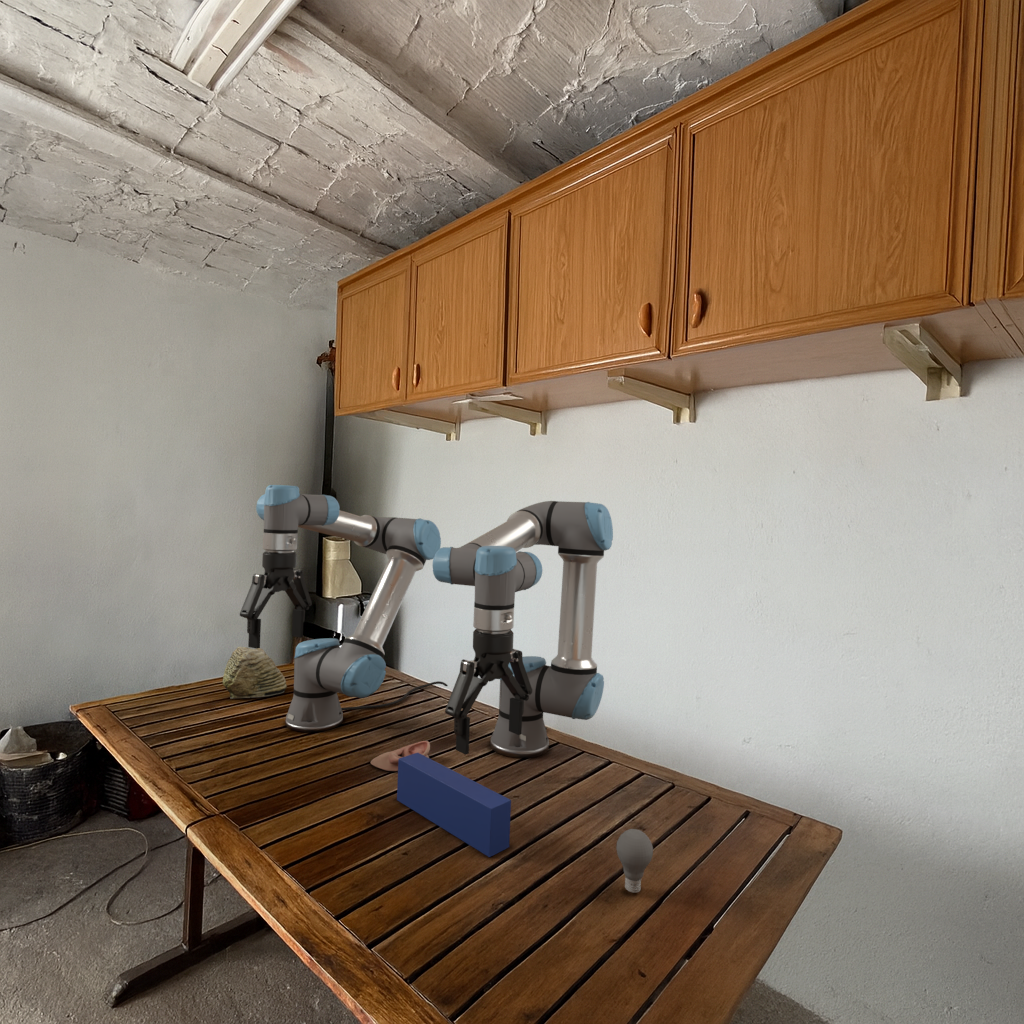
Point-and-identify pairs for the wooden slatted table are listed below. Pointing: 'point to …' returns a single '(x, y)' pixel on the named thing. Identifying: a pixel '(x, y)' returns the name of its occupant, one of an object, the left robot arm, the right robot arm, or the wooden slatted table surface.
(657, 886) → the wooden slatted table surface
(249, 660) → the fossil
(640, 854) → the light bulb
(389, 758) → the anatomical model
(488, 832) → the bar
